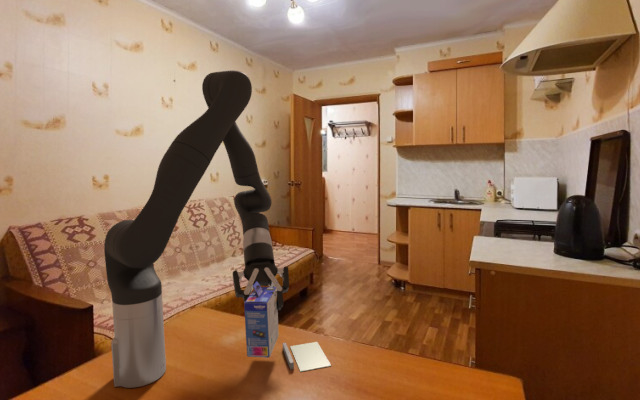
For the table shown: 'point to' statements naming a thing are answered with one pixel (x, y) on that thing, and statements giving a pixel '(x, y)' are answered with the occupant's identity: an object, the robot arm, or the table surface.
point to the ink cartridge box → (261, 321)
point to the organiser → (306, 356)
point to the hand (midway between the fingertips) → (264, 310)
